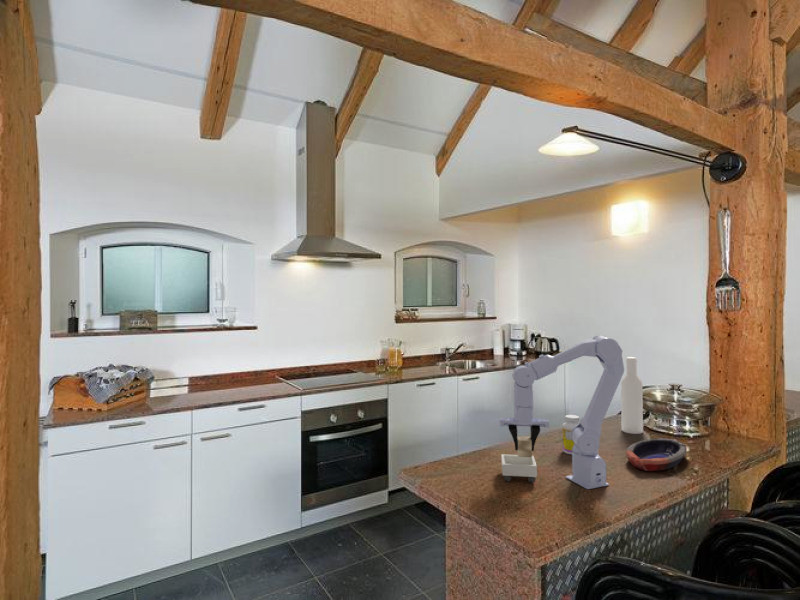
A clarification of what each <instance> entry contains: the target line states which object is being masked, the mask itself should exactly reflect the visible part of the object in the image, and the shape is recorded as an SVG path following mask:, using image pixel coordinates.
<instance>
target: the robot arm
mask: <svg viewBox="0 0 800 600" xmlns="http://www.w3.org/2000/svg"><path fill="white" fill-rule="evenodd" d="M581 357H593V358H597V359H598V360H599V363H600V364H601V366H602V368H603V371H602V374H601V376H600V377H599V381H598V384H597V385H596V388H595V391H594V392H593V395H592V397H591V400H590V402H589V403H588V407H587V409H586V411H585V414H584V416H583V417H582V418H580V419H579V423H578V425H577V426H576V427H575V428H573V430H572V431H571V439H572V441H573V442H574V443H575V444H574V446H573V448H572V455H571V460H572V462H571V465H572V474H570V475H566V476H565V478H566V479H567V480H570V481H571V482H573V483H575V484H577V485H579V486H580V487H583V488H584V489H586V490H591V489H596V488H601V487H606V486H609V485H610V483H608V482H607V463H606V461H605V459H603V458H602V457H601V456H600V455H599V451H598V450H599V448H600V438H601V435H602V424H603V422H604V419H605V416H606V415H607V412H608V410H609V408H610V406H611V403H612V401H613V399H614V396H615V393H616V392H617V390H618V387H619V385H620V383H621V381H622V379H623V376H624V373H625V366H624V360H623V349H622V348H621V346H620V345H619V342H618V341H616V340H615V339H613V338H610V337H606V336H605V335H600V334H599V335H595V336H594V337H590V338H587V339H584V340H583V341H580V342H579V343H577V344H574V345H573V346H571V347H568V348H567V349H565V350H563V351H561V352H559V353H557V354H555V355H550V354H543V353H542V354H540V355H539V356H538V358H536V359H534V360H532V361H530V362H528V361H526V362H524V365H518V366H516V367H515V368H514V369H513V372H512V378H513V380H514V383H513V386H514V387H513V388H514V389H513V417H506V418H501V417H500V418H499V426H500V427H505V426H507V428H508V430H509V432H510V435H511V438H512V440H513V442H514V450H515V451H517V450H518V443H517V436H518V427H530V429H529V430H530V438H531V440H532V452H534V451H535V445H536V442H537V439H538V437H539V434H540V433H541V428H542V427H544V428H550V421H549V419H543V418H534V390H533V384H534V382H535V381H539V380H541V379H543V378H545V377H547V376H549V375H551V374H554V373H556V372H557V370H558V367H559V366H562V365H563V364H567V363H569V362H571V361H574V360H576V359H579V358H581Z"/></svg>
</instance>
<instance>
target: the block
mask: <svg viewBox="0 0 800 600" xmlns="http://www.w3.org/2000/svg"><path fill="white" fill-rule="evenodd" d="M517 443H518V450H516V453H517V454H516V455H518V457H532V456H533V455H532V454H533V451H532V440H531V436H518V435H517Z"/></svg>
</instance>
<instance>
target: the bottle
mask: <svg viewBox="0 0 800 600" xmlns="http://www.w3.org/2000/svg"><path fill="white" fill-rule="evenodd" d="M625 361H626V362H625V363H626V375H623V376H622V378H621V381H620V386H621V387H620V391H621V392H620V396H621V397H620V403H621V405H620V406H621V407H620V409H621V411H620V412H621V414H620V415H621V423H620V425H621V426H620V427H621V431H622V432H624V433H626V434H630V435H640V434H642V433H643V432H644V417H643V415H644V412H643V410H644V407H643V406H644V405H643V402H644V400H643V399H644V398H643V394H644V393H643V381H642V378H640V377H639V376H638V374H637V363H638V359H637V357H636V356H635V357H634V356H627V357H626V360H625Z"/></svg>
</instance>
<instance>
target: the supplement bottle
mask: <svg viewBox="0 0 800 600" xmlns="http://www.w3.org/2000/svg"><path fill="white" fill-rule="evenodd" d="M564 419H565V422H564V423H562V451H563V452H564V453H565V454H567V455H571V456H572V448H573V446H574V444H575V443H574V442H573V441H572V439H571V431H572V430H573V428H575V427H576V426H577V425H578V423H579V421H580V416H579V415H575V414H567V415H565V416H564Z"/></svg>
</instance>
